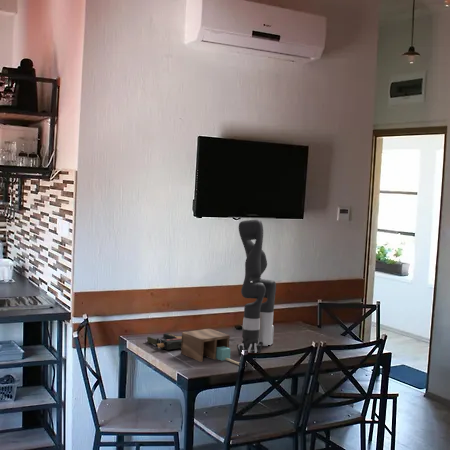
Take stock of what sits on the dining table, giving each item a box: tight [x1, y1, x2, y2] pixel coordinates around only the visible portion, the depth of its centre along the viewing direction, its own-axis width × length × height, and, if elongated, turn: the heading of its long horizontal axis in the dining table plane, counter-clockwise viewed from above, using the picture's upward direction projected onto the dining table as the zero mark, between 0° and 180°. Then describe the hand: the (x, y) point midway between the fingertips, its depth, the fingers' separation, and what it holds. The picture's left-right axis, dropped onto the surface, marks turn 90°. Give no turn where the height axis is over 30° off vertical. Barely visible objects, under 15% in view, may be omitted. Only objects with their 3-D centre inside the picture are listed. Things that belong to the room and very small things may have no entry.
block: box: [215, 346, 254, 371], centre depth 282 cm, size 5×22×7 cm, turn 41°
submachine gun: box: [146, 333, 182, 351], centre depth 311 cm, size 29×5×25 cm
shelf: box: [180, 328, 231, 362], centre depth 293 cm, size 17×15×10 cm
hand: (248, 365), depth 275 cm, fingers closed on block, 4 cm apart
